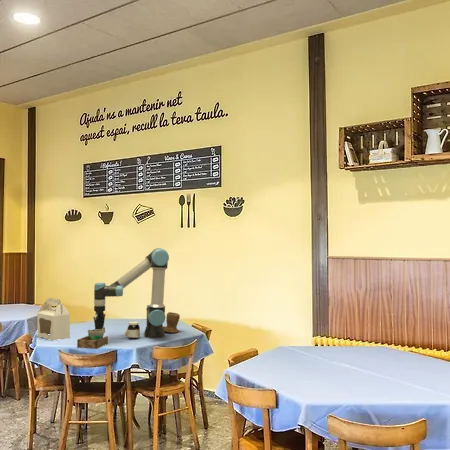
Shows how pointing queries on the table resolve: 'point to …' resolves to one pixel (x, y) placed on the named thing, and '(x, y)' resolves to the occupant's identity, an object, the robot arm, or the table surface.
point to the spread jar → (133, 330)
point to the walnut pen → (91, 342)
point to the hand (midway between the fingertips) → (99, 339)
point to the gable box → (53, 321)
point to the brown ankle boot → (172, 322)
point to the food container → (96, 334)
